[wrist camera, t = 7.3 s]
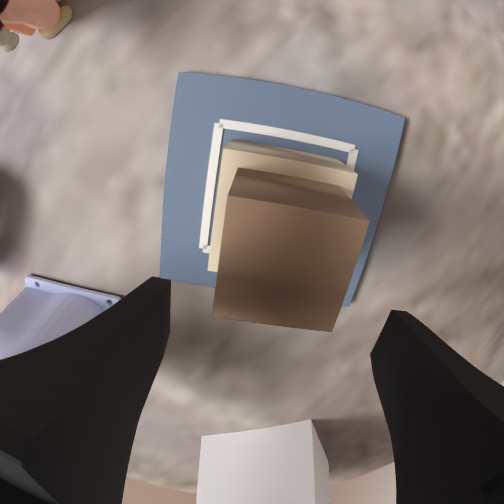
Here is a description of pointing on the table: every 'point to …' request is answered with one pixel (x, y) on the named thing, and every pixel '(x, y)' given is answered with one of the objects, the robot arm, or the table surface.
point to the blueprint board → (269, 133)
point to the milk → (264, 467)
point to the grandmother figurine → (31, 19)
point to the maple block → (272, 162)
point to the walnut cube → (286, 251)
